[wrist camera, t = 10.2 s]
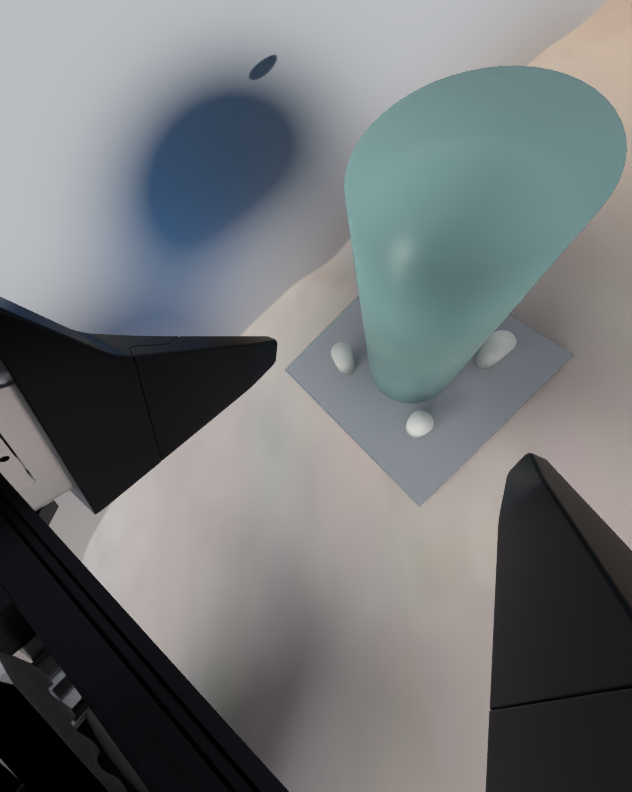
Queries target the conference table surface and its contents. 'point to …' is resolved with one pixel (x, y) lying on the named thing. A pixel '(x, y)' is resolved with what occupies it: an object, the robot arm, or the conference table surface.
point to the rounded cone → (470, 211)
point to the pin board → (430, 420)
